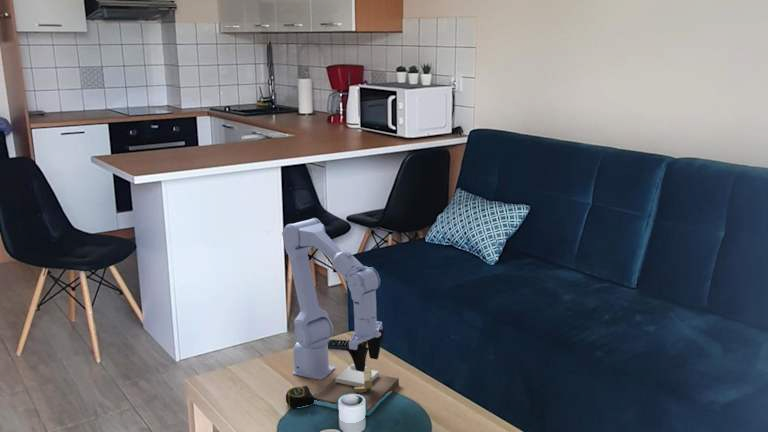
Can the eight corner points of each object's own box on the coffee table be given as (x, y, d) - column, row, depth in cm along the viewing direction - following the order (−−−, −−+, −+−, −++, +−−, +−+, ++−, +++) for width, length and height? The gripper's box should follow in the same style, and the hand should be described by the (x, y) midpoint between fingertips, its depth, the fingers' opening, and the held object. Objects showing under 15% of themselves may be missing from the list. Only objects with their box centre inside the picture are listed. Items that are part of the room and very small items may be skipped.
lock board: (313, 404, 182) (313, 396, 181) (347, 374, 197) (347, 367, 197) (368, 416, 175) (367, 409, 174) (398, 385, 190) (398, 377, 190)
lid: (335, 382, 188) (335, 374, 188) (350, 369, 195) (349, 362, 195) (365, 388, 184) (364, 380, 184) (378, 375, 191) (378, 367, 191)
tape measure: (315, 408, 180) (314, 395, 179) (288, 413, 178) (287, 399, 177) (310, 396, 186) (309, 383, 185) (284, 400, 184) (283, 387, 184)
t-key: (354, 398, 179) (354, 381, 178) (354, 385, 186) (353, 369, 185) (372, 397, 180) (372, 380, 178) (371, 384, 186) (371, 368, 185)
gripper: (365, 328, 171) (367, 379, 174) (391, 307, 183) (393, 355, 187) (340, 324, 174) (343, 374, 177) (368, 304, 187) (369, 351, 190)
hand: (367, 364), depth 182 cm, fingers open, 7 cm apart
